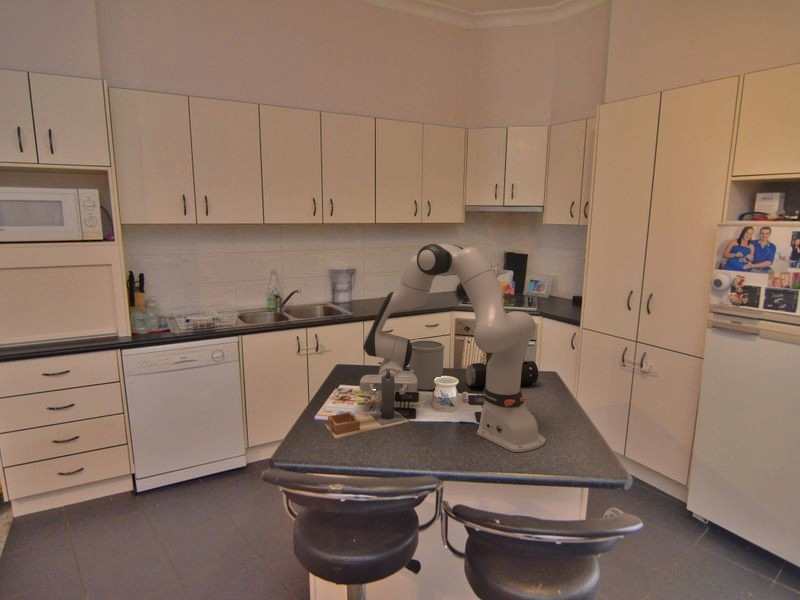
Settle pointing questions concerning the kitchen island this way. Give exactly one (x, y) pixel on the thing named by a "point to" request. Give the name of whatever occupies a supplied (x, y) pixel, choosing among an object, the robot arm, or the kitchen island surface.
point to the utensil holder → (427, 361)
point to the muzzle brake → (478, 374)
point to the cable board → (360, 423)
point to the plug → (387, 396)
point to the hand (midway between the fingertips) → (387, 392)
